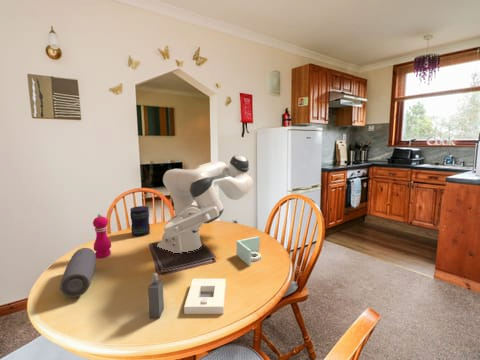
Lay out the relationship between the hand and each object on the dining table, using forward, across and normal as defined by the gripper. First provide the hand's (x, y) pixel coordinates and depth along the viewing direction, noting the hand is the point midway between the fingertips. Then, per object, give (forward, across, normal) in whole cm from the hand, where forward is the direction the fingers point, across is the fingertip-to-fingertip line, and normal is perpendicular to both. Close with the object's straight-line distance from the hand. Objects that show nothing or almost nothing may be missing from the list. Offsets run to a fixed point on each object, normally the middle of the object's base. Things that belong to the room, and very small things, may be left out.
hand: (192, 224), depth 86 cm
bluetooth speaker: (-17, +47, -6) cm, 50 cm away
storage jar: (-66, +32, -4) cm, 74 cm away
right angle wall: (-25, -18, -30) cm, 43 cm away
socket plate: (+1, +5, -25) cm, 25 cm away
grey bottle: (+6, +20, -20) cm, 29 cm away
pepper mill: (-41, +45, -3) cm, 61 cm away
